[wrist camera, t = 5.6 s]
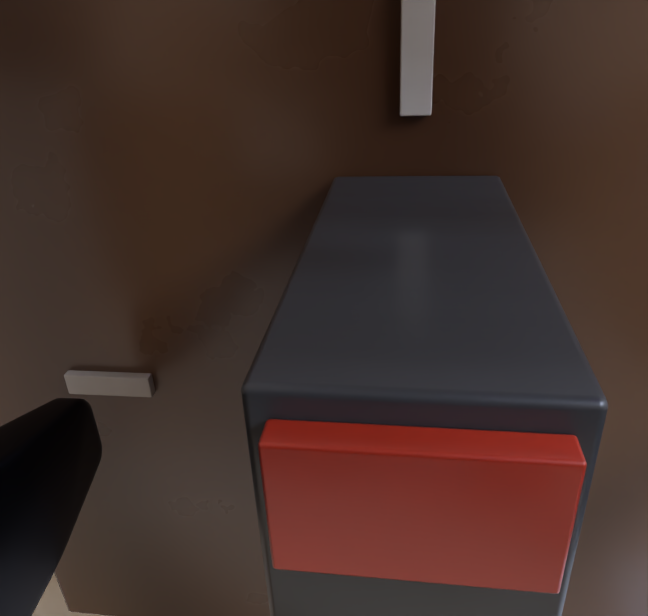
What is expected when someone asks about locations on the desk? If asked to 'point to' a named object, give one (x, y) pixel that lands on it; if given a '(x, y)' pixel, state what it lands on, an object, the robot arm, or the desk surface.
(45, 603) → the desk surface
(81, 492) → the robot arm
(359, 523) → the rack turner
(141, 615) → the base
